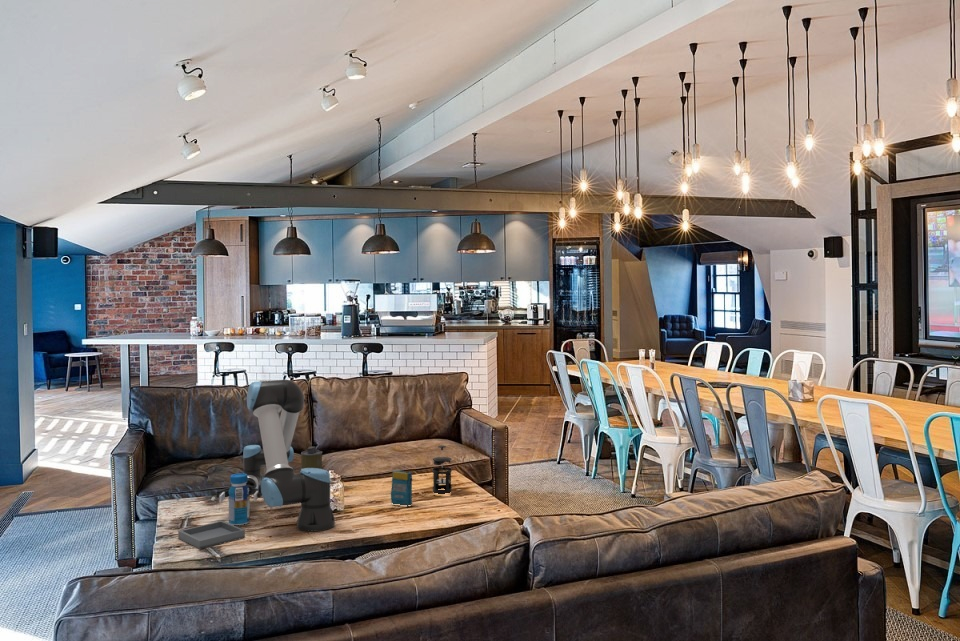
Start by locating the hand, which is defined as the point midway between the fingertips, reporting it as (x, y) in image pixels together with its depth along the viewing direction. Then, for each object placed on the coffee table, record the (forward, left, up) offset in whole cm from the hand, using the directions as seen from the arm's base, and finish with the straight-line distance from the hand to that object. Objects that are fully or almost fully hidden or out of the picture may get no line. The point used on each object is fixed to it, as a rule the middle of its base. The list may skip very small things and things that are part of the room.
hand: (237, 498), depth 295 cm
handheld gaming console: (-28, -64, -11) cm, 71 cm away
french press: (-27, -90, -11) cm, 95 cm away
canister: (+30, -56, -11) cm, 65 cm away
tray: (-8, +15, -11) cm, 20 cm away
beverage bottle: (+2, -2, -11) cm, 12 cm away
